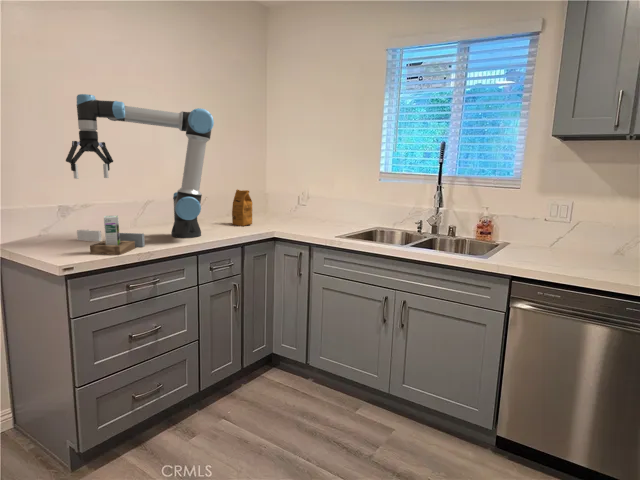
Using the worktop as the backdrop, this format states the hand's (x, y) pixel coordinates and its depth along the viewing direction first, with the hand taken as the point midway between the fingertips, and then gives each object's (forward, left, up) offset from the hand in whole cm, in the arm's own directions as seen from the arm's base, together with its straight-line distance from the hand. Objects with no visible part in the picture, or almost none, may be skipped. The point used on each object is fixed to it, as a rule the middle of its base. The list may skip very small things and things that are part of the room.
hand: (91, 178), depth 202 cm
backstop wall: (-16, +2, -31) cm, 35 cm away
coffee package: (-51, -74, -31) cm, 95 cm away
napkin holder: (+9, -9, -31) cm, 34 cm away
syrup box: (-16, +14, -30) cm, 37 cm away
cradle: (-16, +14, -31) cm, 37 cm away
